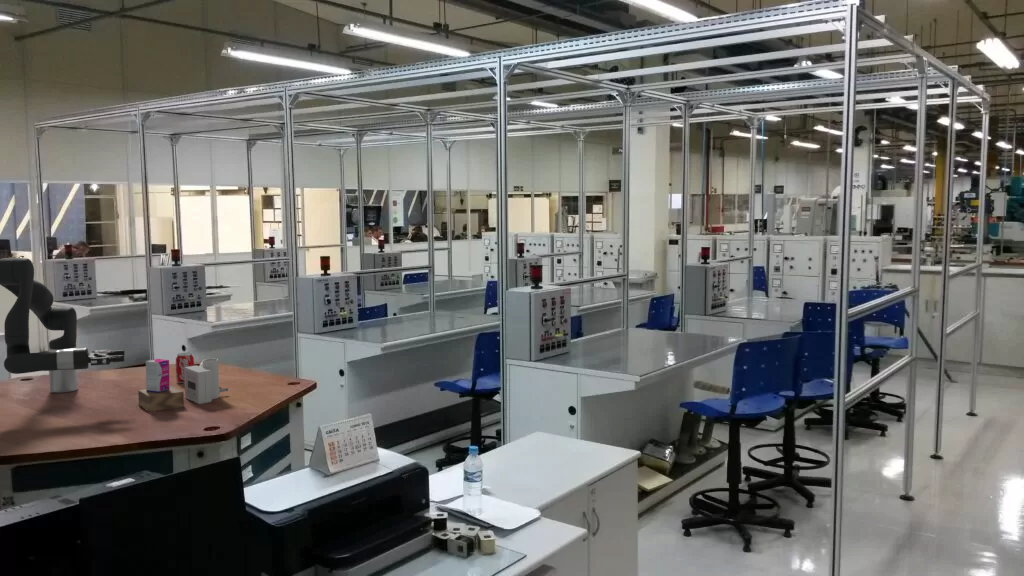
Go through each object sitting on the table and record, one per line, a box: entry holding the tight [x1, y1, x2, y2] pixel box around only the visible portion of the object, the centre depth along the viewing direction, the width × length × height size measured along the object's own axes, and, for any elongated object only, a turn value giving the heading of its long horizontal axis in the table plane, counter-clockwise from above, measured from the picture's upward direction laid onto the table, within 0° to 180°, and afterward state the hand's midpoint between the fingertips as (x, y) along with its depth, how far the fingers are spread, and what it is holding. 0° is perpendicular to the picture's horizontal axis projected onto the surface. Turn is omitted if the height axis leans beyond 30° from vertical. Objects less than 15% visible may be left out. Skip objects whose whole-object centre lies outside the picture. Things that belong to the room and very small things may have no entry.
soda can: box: [175, 352, 195, 384], centre depth 315 cm, size 7×7×12 cm
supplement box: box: [145, 358, 170, 393], centre depth 277 cm, size 6×6×12 cm
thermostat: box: [184, 358, 229, 405], centre depth 290 cm, size 12×14×15 cm
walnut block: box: [137, 384, 185, 412], centre depth 278 cm, size 12×12×6 cm
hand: (124, 355), depth 272 cm, fingers open, 8 cm apart
